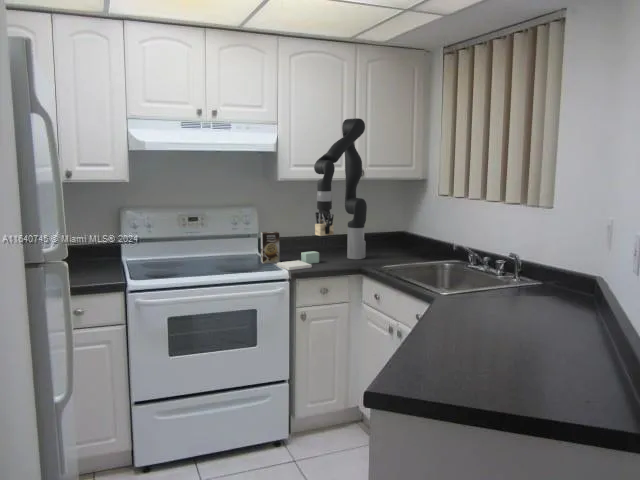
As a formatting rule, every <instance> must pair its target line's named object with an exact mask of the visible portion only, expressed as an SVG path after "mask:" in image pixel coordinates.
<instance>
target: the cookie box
mask: <svg viewBox="0 0 640 480" xmlns="http://www.w3.org/2000/svg"><path fill="white" fill-rule="evenodd" d="M260 262H261V264H263V265H265V264H266V265H267V264H277V263H279V262H280V232H279V231H261V232H260Z"/></svg>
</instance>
